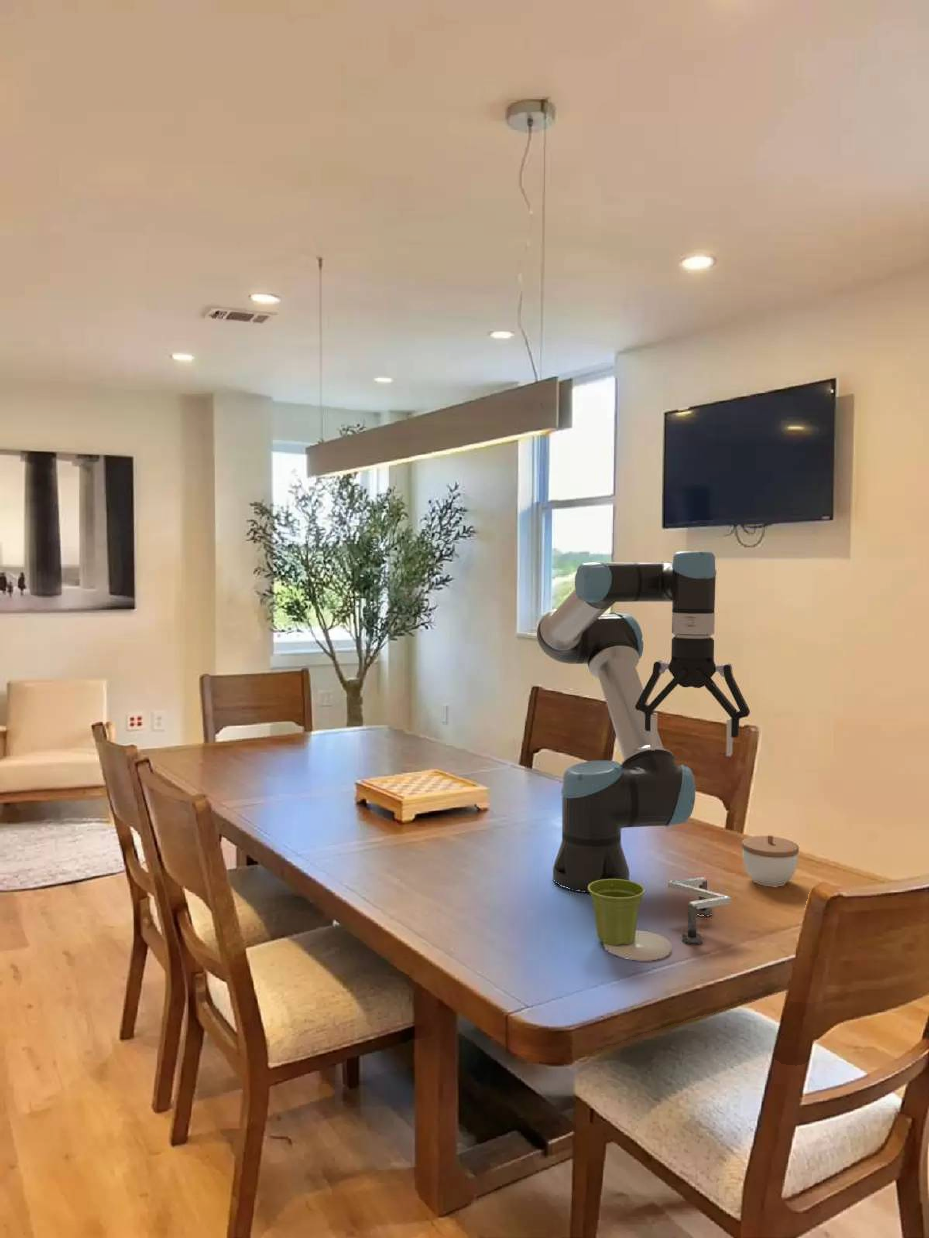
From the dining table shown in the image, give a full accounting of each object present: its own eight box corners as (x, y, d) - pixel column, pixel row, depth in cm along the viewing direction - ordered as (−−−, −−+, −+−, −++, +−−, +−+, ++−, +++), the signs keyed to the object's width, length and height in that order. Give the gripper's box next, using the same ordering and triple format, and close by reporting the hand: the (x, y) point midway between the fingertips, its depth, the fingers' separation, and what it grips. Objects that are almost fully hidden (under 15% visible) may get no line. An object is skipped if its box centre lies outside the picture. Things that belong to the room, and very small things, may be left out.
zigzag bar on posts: (656, 938, 153) (657, 900, 153) (672, 905, 168) (673, 870, 168) (725, 949, 149) (726, 910, 148) (735, 914, 164) (736, 878, 163)
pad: (596, 954, 147) (596, 950, 147) (611, 929, 157) (611, 925, 157) (664, 965, 143) (665, 962, 143) (676, 939, 153) (676, 935, 153)
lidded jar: (761, 893, 174) (762, 845, 174) (730, 875, 185) (731, 830, 184) (809, 888, 177) (810, 841, 177) (776, 870, 188) (777, 825, 187)
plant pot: (577, 941, 150) (577, 890, 150) (602, 923, 158) (602, 874, 158) (630, 955, 145) (631, 901, 145) (653, 935, 153) (653, 884, 152)
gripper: (620, 635, 167) (618, 750, 168) (763, 640, 157) (760, 761, 158) (629, 632, 174) (627, 742, 175) (766, 637, 164) (763, 753, 165)
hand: (690, 751), depth 167 cm, fingers open, 13 cm apart
